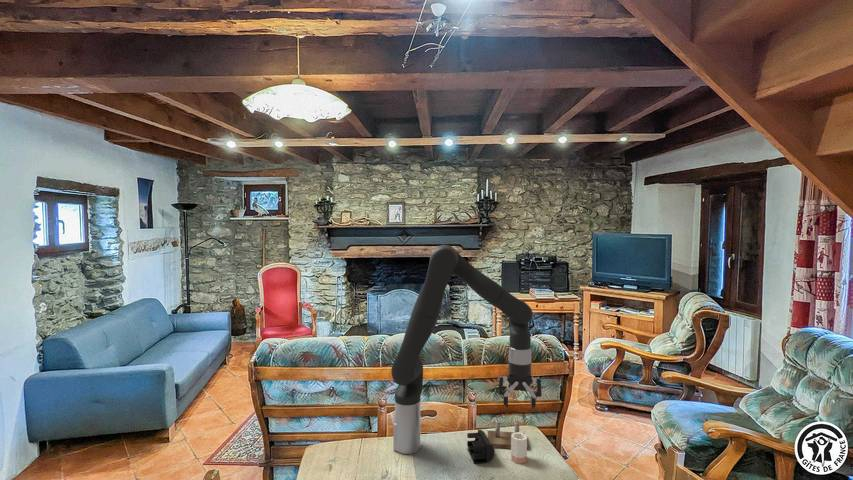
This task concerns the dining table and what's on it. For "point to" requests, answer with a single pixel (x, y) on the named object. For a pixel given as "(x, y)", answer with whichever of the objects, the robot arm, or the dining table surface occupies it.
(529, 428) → the dining table surface
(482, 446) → the end cap
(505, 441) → the pin board
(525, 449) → the sleeve
